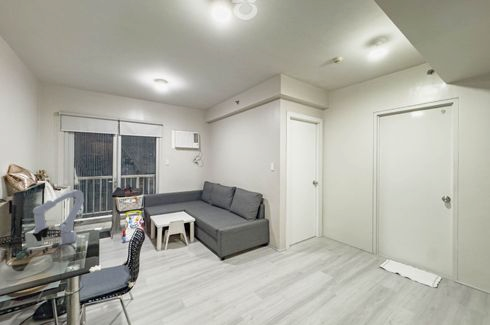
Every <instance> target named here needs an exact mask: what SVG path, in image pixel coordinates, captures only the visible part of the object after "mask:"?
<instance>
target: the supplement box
mask: <svg viewBox="0 0 490 325" xmlns="http://www.w3.org/2000/svg"><path fill="white" fill-rule="evenodd" d="M34 231H35V230H34V229H33V230H30V231H27V232H25V233H24V237H25V245H26V249H28V248H31V247H34V248H35V247H40V246H44V244H45V242H44V241H45V240H44V238H42V241H37V239H36V238H35V236H34V235H33V233H34Z"/></svg>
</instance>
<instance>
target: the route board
mask: <svg viewBox="0 0 490 325" xmlns="http://www.w3.org/2000/svg"><path fill="white" fill-rule="evenodd" d="M45 249H46V250H45ZM45 249H43V251H37V252H32V250H29V251H28V250H27V251H26V250H22V251H21V250H20V252H18V253H17V254H15V259H14V260H13V261H21V260H25V259H29V258H30V259H31V258H36V257H39V256H44V255H52V254H54V253H55V252H56V251H57V250H58V249H59V248H53V249H48V247H45ZM29 252H30V253H29Z"/></svg>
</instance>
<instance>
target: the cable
mask: <svg viewBox="0 0 490 325" xmlns="http://www.w3.org/2000/svg"><path fill="white" fill-rule="evenodd" d="M59 245H60V243H59V242H55V243H52V244H47V245H40V246H38V247H35V248H34V247H31V248H26V249H25V251H27V250H28V251H29V250H32V252H34V251H39V250H43V249H45V247H48V249H50V248H56V247H58V246H59Z"/></svg>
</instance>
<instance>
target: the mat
mask: <svg viewBox="0 0 490 325" xmlns="http://www.w3.org/2000/svg"><path fill="white" fill-rule="evenodd" d="M63 245H64V244H61V245H60V244H59V246H58V247H56V248H58V249H59V248H61V247H62V246H63ZM50 249H53V248H50ZM45 250H46V249H45ZM39 251H43V250H39ZM34 252H37V251H34ZM29 253H30V252H29Z"/></svg>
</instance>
